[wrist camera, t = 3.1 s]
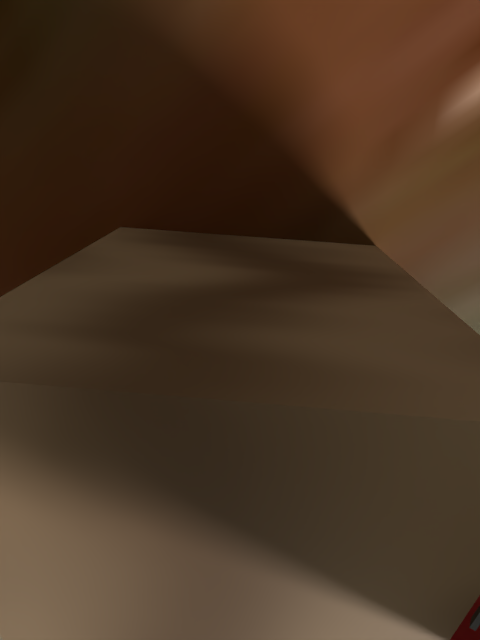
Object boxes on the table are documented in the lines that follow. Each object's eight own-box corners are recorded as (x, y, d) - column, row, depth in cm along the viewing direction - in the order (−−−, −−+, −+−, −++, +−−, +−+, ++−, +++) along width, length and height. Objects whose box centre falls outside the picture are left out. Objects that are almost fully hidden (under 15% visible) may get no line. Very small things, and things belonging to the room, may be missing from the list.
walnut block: (375, 245, 11) (589, 430, 4) (330, 436, 15) (398, 717, 7) (121, 226, 11) (-129, 371, 4) (138, 420, 15) (22, 680, 8)
